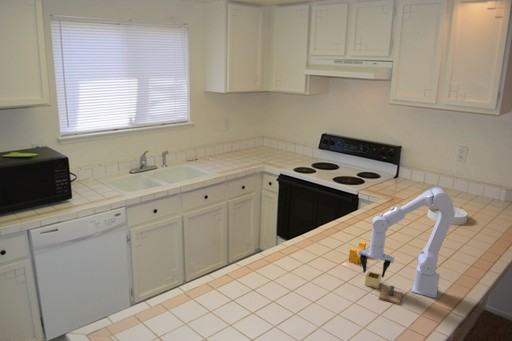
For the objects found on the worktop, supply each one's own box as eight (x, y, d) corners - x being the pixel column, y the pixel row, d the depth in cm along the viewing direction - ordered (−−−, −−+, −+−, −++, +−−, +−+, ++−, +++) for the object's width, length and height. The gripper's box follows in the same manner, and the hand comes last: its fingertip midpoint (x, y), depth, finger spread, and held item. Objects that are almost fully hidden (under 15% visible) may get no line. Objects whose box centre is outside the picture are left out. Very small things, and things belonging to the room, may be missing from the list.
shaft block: (402, 295, 177) (403, 285, 175) (399, 304, 170) (400, 294, 168) (382, 289, 180) (383, 280, 179) (378, 299, 173) (379, 289, 172)
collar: (380, 282, 186) (381, 274, 185) (378, 288, 181) (379, 280, 180) (367, 279, 188) (368, 271, 187) (364, 285, 183) (365, 276, 182)
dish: (432, 209, 281) (433, 202, 280) (469, 217, 269) (470, 210, 267) (422, 219, 263) (424, 211, 262) (462, 228, 251) (463, 220, 250)
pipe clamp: (357, 264, 202) (358, 252, 200) (348, 261, 204) (349, 249, 203) (367, 256, 211) (369, 244, 209) (359, 253, 213) (361, 241, 212)
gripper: (396, 244, 180) (392, 274, 184) (362, 237, 186) (358, 266, 190) (394, 251, 174) (390, 281, 178) (358, 243, 180) (355, 272, 184)
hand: (373, 274), depth 183 cm, fingers open, 7 cm apart
